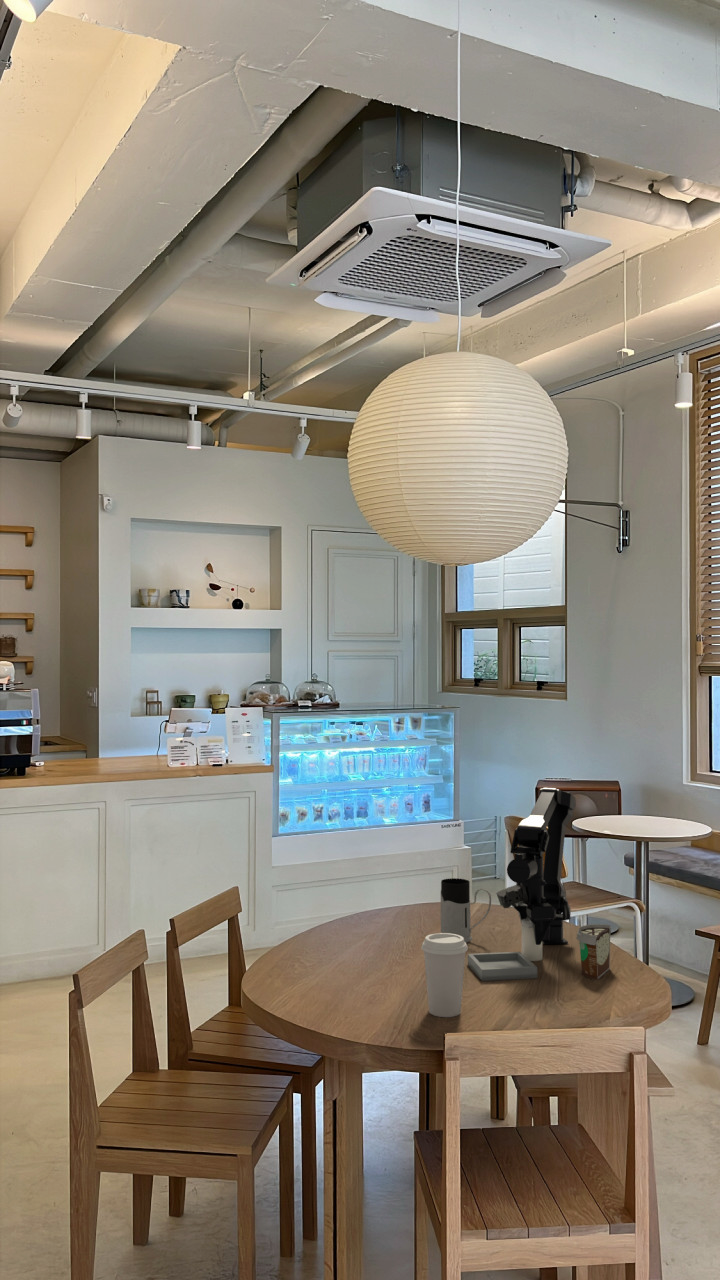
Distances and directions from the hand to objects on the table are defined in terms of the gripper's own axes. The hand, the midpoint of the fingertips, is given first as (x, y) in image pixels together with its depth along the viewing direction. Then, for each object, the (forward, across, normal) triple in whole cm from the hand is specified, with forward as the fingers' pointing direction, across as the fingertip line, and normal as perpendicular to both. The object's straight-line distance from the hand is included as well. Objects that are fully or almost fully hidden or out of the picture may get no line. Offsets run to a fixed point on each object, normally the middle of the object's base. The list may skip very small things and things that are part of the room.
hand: (532, 939), depth 238 cm
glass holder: (+5, -19, -12) cm, 23 cm away
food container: (+5, +13, +10) cm, 17 cm away
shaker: (+4, 0, 0) cm, 4 cm away
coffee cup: (+4, +35, -30) cm, 46 cm away
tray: (+4, +10, -11) cm, 15 cm away
